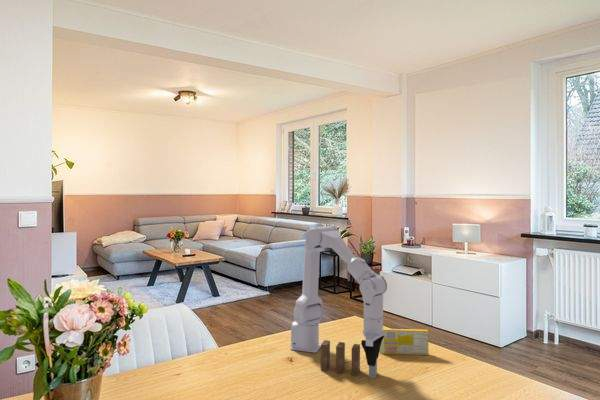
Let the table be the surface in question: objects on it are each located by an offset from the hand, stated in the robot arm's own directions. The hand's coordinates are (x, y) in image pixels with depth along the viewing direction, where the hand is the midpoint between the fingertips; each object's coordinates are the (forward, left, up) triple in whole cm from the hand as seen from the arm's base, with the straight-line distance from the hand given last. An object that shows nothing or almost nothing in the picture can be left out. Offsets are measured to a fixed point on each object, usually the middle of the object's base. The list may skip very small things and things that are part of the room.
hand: (372, 361), depth 124 cm
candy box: (+7, +20, -4) cm, 22 cm away
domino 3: (-5, 0, -4) cm, 7 cm away
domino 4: (0, 0, -4) cm, 4 cm away
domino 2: (-10, 0, -4) cm, 11 cm away
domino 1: (-15, 0, -4) cm, 15 cm away
